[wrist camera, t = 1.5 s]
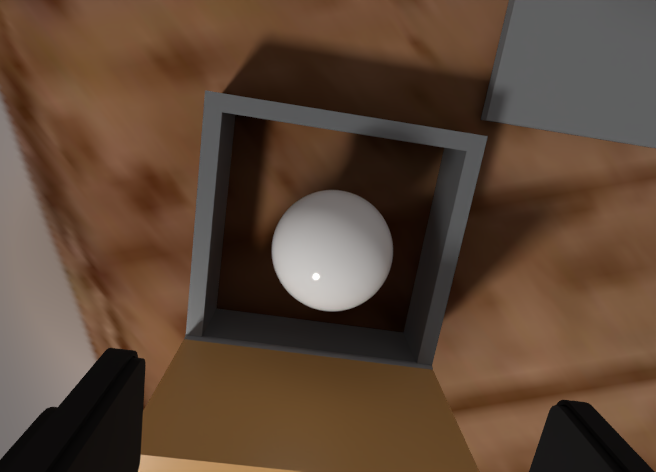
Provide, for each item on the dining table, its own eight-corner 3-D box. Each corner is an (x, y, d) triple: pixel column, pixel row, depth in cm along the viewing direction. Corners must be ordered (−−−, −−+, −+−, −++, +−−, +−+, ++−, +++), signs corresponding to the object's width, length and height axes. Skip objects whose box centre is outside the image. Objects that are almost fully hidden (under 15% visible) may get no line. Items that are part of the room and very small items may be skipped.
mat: (717, -50, 27) (732, -56, 26) (650, 147, 31) (661, 148, 30) (529, -88, 27) (537, -95, 26) (480, 119, 30) (486, 119, 29)
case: (462, 132, 30) (592, 151, 16) (413, 347, 34) (482, 510, 20) (221, 93, 29) (134, 77, 15) (201, 320, 33) (118, 473, 19)
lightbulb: (391, 221, 31) (431, 277, 21) (323, 277, 32) (327, 358, 22) (333, 151, 30) (343, 173, 19) (263, 212, 31) (236, 264, 20)
